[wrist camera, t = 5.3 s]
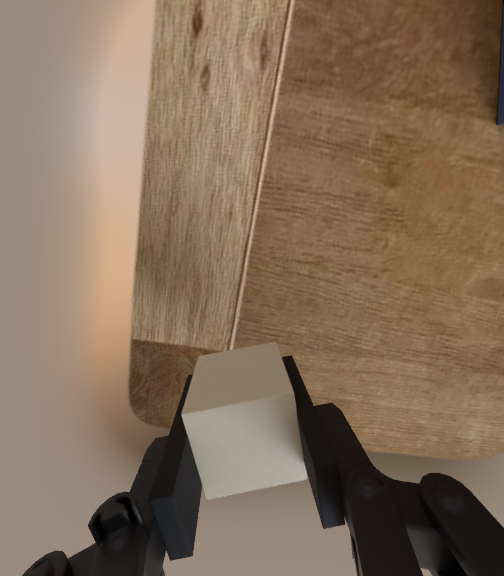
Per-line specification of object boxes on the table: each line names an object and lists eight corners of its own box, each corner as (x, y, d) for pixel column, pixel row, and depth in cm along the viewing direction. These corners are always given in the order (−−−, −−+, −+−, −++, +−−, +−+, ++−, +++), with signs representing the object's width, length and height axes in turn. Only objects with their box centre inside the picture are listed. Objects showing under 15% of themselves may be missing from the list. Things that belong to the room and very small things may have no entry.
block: (198, 355, 14) (180, 414, 9) (275, 340, 14) (294, 392, 10) (215, 421, 15) (206, 500, 11) (287, 406, 15) (307, 479, 11)
